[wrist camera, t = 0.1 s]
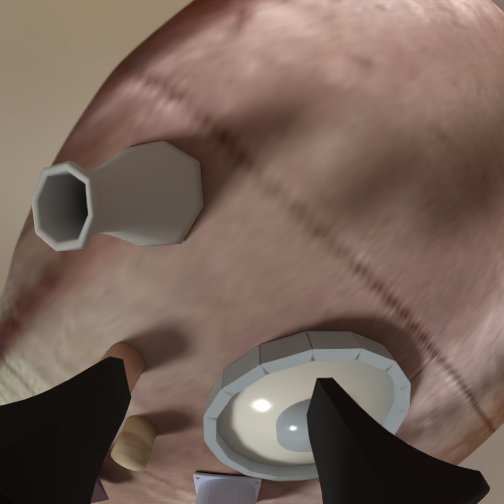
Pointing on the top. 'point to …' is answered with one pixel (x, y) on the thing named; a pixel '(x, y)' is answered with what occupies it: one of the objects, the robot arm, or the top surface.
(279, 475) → the groove tray
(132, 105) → the top surface
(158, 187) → the flask
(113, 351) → the peach rounded cylinder
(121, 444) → the tan rounded cylinder
